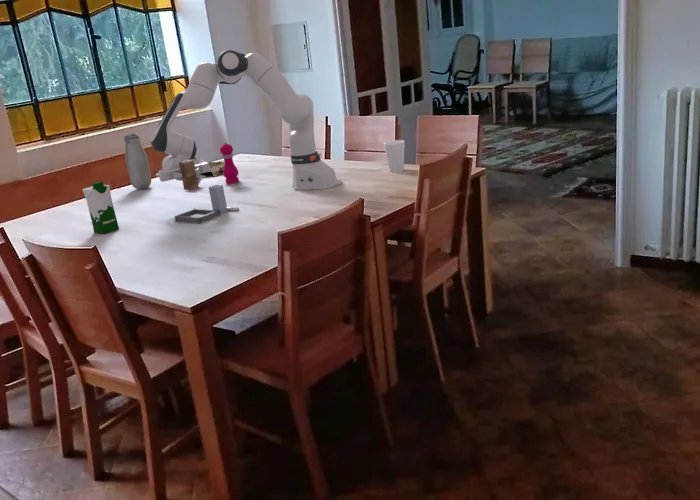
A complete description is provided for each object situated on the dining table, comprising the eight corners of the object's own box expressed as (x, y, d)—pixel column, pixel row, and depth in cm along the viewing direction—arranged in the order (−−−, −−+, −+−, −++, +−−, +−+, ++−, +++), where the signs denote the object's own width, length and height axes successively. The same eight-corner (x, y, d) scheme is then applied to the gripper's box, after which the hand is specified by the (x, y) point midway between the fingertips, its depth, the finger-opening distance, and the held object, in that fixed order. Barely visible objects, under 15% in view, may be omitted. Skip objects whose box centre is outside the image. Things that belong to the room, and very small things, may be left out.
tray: (220, 215, 275) (219, 210, 274) (200, 223, 267) (199, 218, 266) (195, 213, 283) (194, 208, 282) (175, 221, 274) (174, 216, 274)
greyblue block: (227, 211, 280) (222, 184, 276) (220, 213, 277) (215, 187, 273) (220, 210, 282) (215, 184, 279) (213, 213, 279) (208, 186, 275)
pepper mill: (238, 182, 329) (231, 141, 322) (223, 184, 329) (215, 143, 323) (241, 179, 335) (233, 138, 329) (226, 181, 336) (218, 140, 329)
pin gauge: (238, 207, 278) (235, 209, 277) (239, 210, 279) (237, 212, 277) (220, 206, 283) (218, 207, 282) (221, 209, 284) (219, 211, 283)
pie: (180, 174, 370) (178, 165, 368) (229, 164, 380) (228, 156, 378) (192, 182, 345) (190, 172, 344) (244, 172, 356) (242, 162, 354)
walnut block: (198, 187, 272) (193, 159, 268) (191, 190, 269) (185, 162, 265) (191, 187, 274) (186, 159, 270) (184, 189, 271) (178, 162, 267)
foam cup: (384, 173, 308) (381, 145, 304) (389, 168, 316) (386, 140, 312) (404, 172, 305) (402, 143, 301) (409, 167, 314) (406, 139, 309)
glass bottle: (141, 191, 337) (128, 135, 328) (128, 190, 343) (115, 135, 334) (157, 186, 345) (145, 130, 336) (144, 185, 351) (132, 130, 342)
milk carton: (103, 235, 268) (90, 185, 262) (90, 233, 274) (78, 184, 267) (122, 228, 274) (110, 179, 268) (110, 226, 280) (98, 178, 274)
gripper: (152, 166, 275) (161, 171, 263) (202, 156, 284) (212, 160, 272) (156, 182, 277) (164, 187, 265) (205, 171, 286) (215, 176, 274)
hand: (189, 174), depth 269 cm, fingers closed on walnut block, 5 cm apart
